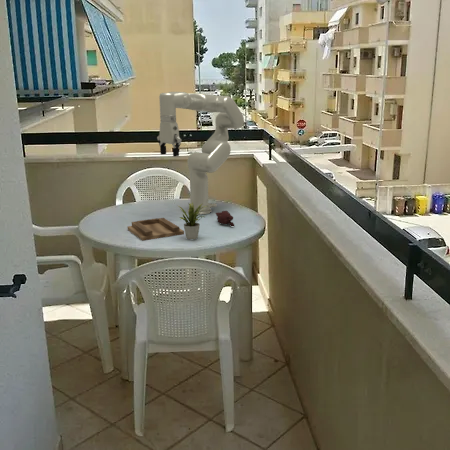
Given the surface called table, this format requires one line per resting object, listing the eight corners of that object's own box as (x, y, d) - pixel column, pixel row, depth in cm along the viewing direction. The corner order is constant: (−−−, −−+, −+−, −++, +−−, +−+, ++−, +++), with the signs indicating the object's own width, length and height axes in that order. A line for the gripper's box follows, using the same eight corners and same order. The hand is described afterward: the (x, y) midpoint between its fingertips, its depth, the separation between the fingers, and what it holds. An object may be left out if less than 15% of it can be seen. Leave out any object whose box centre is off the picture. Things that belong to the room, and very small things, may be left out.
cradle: (167, 223, 248) (166, 216, 247) (184, 234, 231) (183, 226, 230) (127, 229, 238) (127, 222, 237) (142, 240, 222) (141, 233, 221)
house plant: (216, 239, 223) (216, 203, 218) (188, 245, 215) (187, 207, 211) (199, 232, 234) (199, 197, 230) (173, 236, 227) (171, 201, 222)
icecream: (208, 209, 249) (225, 218, 237) (220, 204, 252) (238, 212, 241) (210, 222, 252) (228, 231, 240) (222, 216, 255) (240, 225, 244)
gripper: (186, 119, 239) (187, 156, 244) (163, 118, 251) (164, 152, 256) (173, 120, 234) (175, 157, 239) (150, 119, 246) (152, 154, 251)
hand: (169, 155), depth 247 cm, fingers open, 9 cm apart
